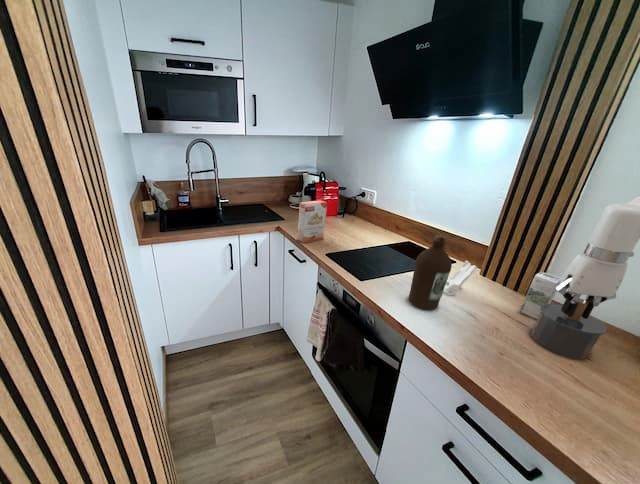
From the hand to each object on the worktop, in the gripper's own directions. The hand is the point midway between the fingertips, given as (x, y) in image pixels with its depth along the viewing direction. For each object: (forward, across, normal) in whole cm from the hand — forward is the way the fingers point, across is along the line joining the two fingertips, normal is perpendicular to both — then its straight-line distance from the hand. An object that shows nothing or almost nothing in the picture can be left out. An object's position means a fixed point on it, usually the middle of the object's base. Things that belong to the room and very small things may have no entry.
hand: (573, 314), depth 79 cm
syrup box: (+10, -1, -15) cm, 18 cm away
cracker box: (+10, +80, -66) cm, 104 cm away
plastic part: (+10, +21, -26) cm, 35 cm away
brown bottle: (+10, +34, -13) cm, 38 cm away
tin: (+10, 0, 0) cm, 10 cm away
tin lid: (+2, 0, 0) cm, 2 cm away
